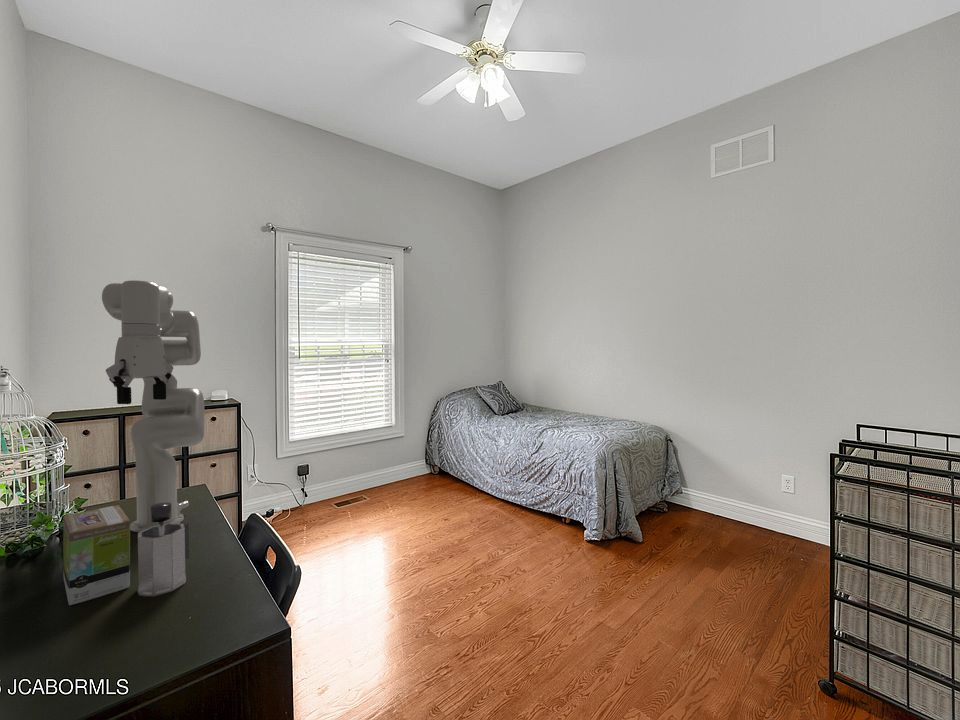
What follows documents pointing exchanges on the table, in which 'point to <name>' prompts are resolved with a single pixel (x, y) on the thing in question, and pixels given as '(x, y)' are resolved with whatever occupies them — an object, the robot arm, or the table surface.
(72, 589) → the tea box
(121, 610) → the table surface
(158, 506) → the plunger
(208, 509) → the table surface
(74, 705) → the table surface
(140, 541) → the carafe
